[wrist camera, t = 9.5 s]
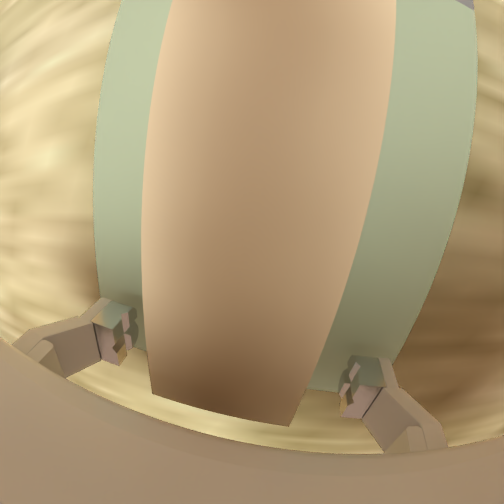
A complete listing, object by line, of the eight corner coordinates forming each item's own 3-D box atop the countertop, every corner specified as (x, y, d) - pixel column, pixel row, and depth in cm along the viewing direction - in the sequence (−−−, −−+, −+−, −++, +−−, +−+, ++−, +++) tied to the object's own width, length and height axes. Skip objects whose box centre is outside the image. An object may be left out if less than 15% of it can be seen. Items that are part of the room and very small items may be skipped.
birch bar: (363, -61, 4) (382, -122, 1) (294, 341, 11) (288, 426, 7) (254, -75, 5) (233, -137, 1) (193, 319, 11) (152, 393, 7)
